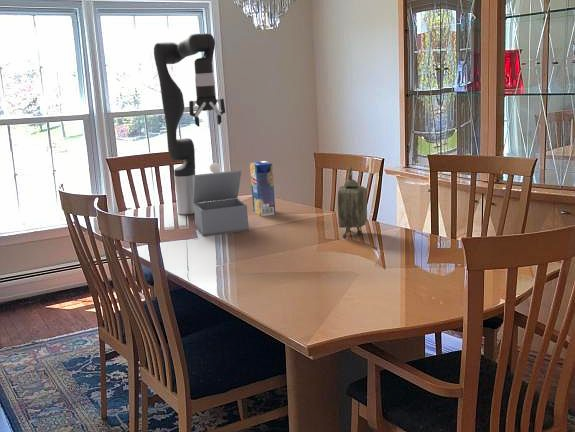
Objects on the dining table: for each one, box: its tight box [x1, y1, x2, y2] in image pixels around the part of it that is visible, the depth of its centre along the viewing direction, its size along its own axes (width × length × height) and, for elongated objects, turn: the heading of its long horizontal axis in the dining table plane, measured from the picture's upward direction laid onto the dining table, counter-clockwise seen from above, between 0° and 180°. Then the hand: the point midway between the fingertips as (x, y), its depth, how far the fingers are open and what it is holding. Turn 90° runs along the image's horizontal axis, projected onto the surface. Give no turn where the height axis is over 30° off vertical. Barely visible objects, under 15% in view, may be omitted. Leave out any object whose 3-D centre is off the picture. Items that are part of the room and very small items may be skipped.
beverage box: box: [249, 160, 276, 217], centre depth 281 cm, size 7×11×22 cm, turn 18°
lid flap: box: [193, 162, 242, 203], centre depth 260 cm, size 16×18×8 cm
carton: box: [194, 198, 250, 237], centre depth 258 cm, size 16×18×10 cm
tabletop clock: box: [337, 166, 368, 239], centre depth 235 cm, size 14×9×25 cm, turn 168°
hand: (208, 125), depth 264 cm, fingers open, 8 cm apart
